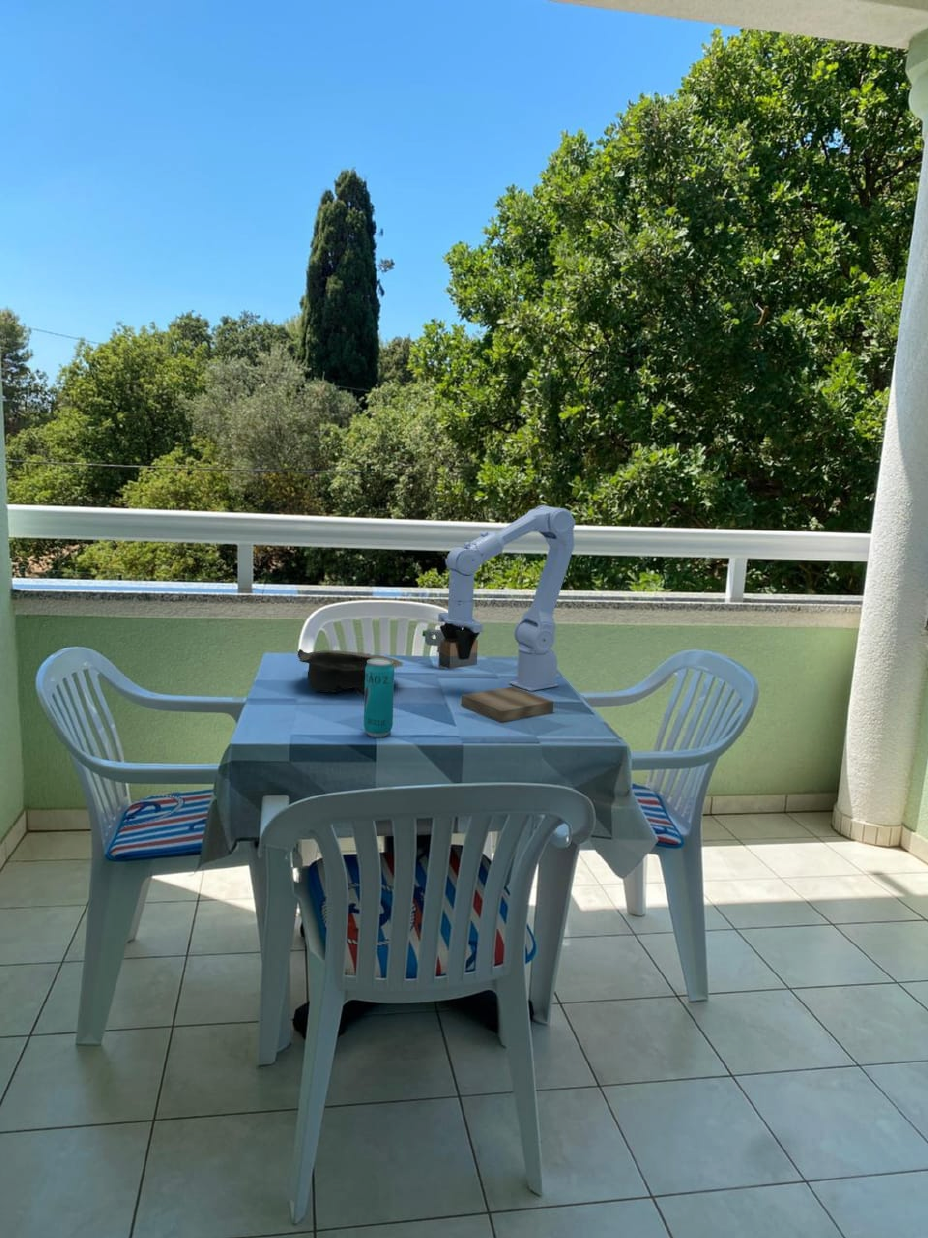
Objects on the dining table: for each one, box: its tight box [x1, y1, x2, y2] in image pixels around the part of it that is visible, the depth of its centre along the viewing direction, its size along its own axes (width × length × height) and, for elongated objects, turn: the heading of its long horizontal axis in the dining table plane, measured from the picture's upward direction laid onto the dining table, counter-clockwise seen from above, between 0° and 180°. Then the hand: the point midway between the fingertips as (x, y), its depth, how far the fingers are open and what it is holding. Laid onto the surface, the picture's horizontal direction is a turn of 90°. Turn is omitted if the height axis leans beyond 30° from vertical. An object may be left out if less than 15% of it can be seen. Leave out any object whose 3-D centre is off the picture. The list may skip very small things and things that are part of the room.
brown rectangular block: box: [438, 638, 479, 670], centre depth 213 cm, size 8×4×6 cm, turn 128°
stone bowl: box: [297, 648, 404, 695], centre depth 215 cm, size 25×25×9 cm
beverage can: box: [363, 658, 395, 738], centre depth 181 cm, size 6×6×15 cm
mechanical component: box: [422, 628, 445, 670], centre depth 235 cm, size 3×10×10 cm, turn 78°
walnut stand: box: [461, 685, 554, 723], centre depth 203 cm, size 15×14×2 cm
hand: (458, 656), depth 213 cm, fingers closed on brown rectangular block, 4 cm apart
